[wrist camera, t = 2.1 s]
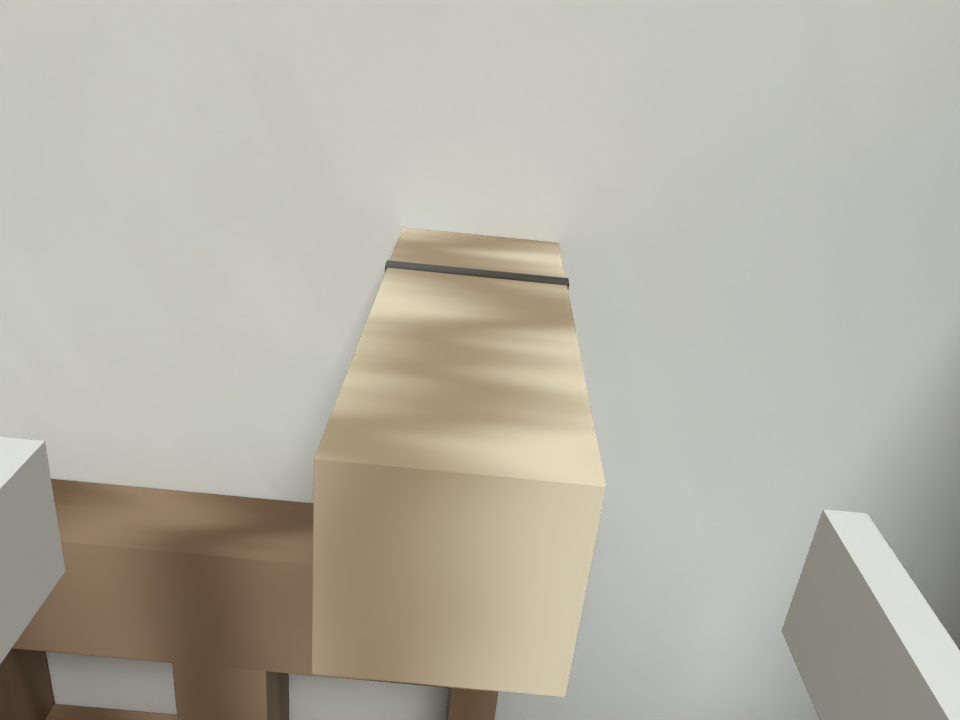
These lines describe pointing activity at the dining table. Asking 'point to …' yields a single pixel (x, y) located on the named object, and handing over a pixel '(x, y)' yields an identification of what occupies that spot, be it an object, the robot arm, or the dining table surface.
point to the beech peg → (459, 475)
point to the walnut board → (182, 603)
